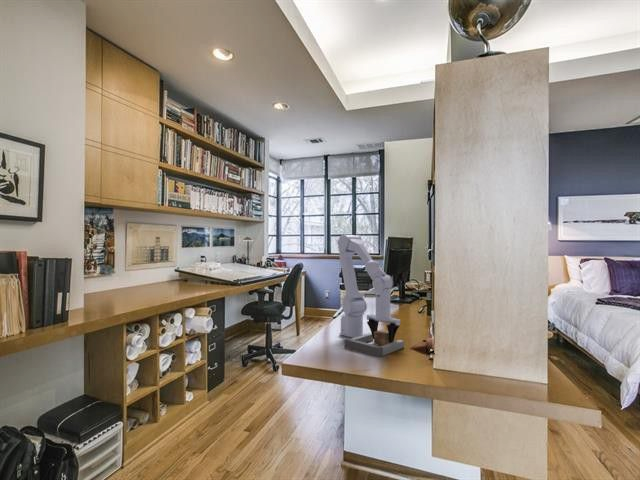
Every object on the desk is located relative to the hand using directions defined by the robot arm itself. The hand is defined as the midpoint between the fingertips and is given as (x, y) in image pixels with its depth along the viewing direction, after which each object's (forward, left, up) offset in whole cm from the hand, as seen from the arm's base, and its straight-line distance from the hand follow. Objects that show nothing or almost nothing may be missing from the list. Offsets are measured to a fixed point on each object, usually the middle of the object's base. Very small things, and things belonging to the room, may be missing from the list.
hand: (382, 340), depth 125 cm
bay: (0, -5, -1) cm, 5 cm away
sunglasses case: (+15, +10, -2) cm, 18 cm away
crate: (0, 0, -2) cm, 2 cm away
